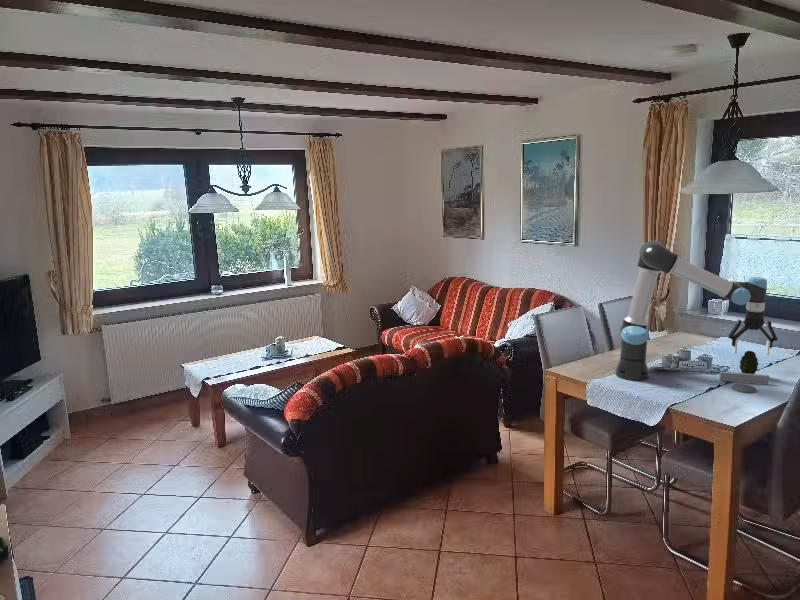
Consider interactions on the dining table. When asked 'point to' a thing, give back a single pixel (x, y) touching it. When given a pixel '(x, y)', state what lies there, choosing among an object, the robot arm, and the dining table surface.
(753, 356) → the grenade
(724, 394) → the dining table surface
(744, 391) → the pad
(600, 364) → the dining table surface
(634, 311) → the robot arm
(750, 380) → the low wall
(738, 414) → the dining table surface
